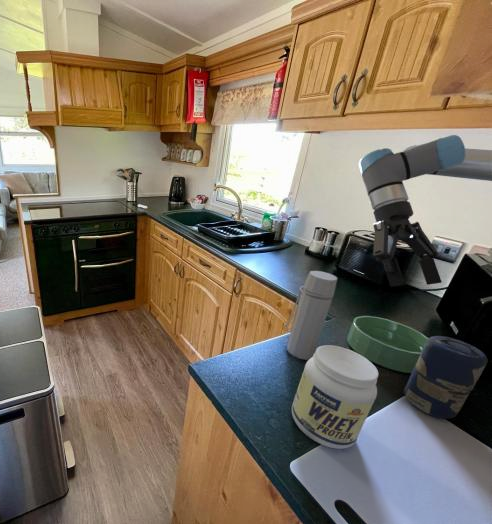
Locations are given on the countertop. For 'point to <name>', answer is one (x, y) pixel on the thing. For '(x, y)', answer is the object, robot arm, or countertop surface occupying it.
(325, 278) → the water bottle
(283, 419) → the countertop surface
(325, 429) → the supplement tub
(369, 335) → the green pet bowl
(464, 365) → the canister
